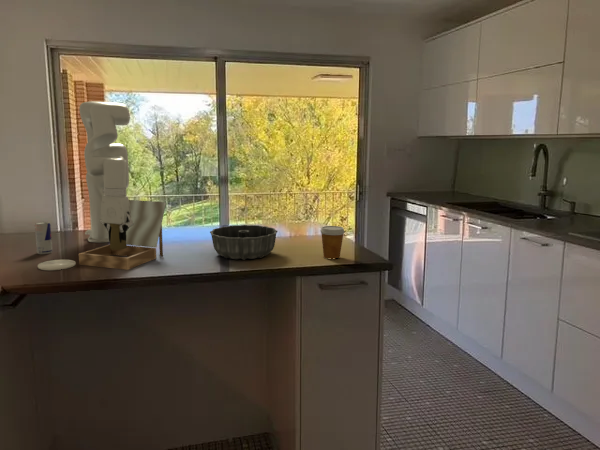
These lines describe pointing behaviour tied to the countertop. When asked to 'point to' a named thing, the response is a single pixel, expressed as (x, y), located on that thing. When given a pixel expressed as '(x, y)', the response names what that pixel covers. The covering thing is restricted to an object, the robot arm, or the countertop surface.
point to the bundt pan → (243, 241)
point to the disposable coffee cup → (332, 241)
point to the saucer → (56, 264)
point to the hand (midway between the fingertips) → (117, 241)
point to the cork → (116, 238)
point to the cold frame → (132, 239)
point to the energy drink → (43, 237)
